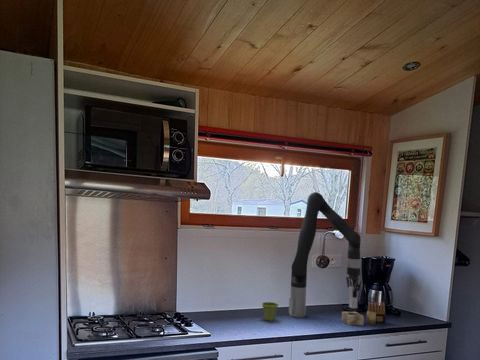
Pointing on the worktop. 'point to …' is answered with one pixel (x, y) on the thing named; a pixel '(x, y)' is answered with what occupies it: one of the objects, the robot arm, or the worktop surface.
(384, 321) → the ammunition clip
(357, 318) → the bit holder
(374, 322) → the round bit
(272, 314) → the plant pot
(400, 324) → the worktop surface
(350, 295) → the square bit
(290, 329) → the worktop surface
